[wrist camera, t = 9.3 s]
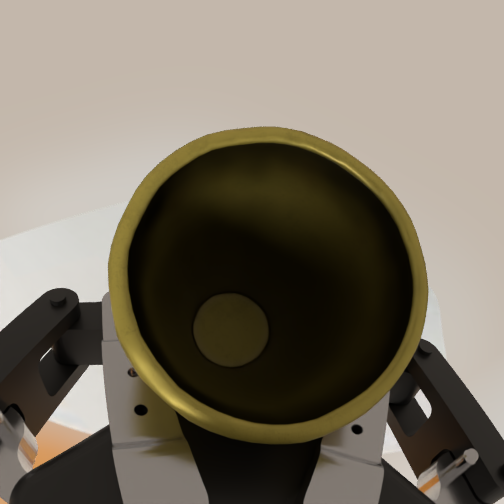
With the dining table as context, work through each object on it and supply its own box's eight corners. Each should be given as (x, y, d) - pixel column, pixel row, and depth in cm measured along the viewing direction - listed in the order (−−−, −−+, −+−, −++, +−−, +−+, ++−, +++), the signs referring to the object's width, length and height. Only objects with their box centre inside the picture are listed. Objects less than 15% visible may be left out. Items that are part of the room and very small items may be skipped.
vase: (200, 264, 19) (184, 73, 6) (295, 301, 19) (458, 186, 6) (161, 359, 17) (24, 373, 4) (262, 397, 17) (393, 496, 4)
